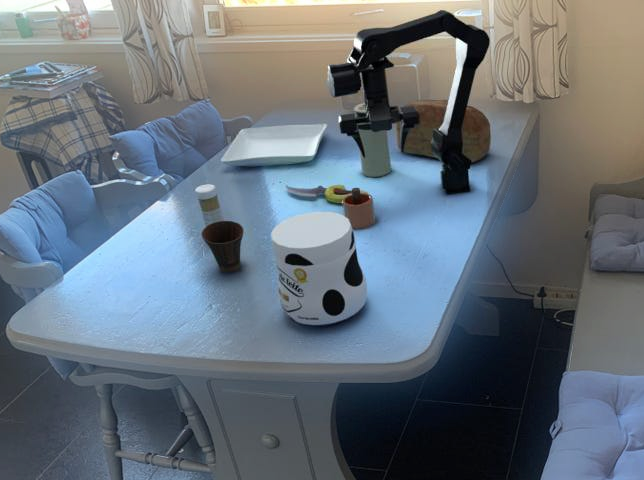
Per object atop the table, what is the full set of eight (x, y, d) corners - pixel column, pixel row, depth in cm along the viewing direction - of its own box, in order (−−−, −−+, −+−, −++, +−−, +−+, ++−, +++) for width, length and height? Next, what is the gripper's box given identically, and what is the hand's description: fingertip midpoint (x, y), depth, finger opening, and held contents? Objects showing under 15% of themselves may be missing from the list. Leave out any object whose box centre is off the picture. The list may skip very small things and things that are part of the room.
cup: (233, 283, 164) (221, 242, 158) (204, 274, 168) (191, 234, 162) (261, 265, 170) (251, 224, 164) (232, 256, 174) (221, 217, 168)
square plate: (317, 167, 215) (314, 154, 212) (222, 173, 216) (218, 160, 214) (329, 133, 236) (327, 121, 234) (243, 139, 238) (240, 127, 235)
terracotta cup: (373, 213, 188) (370, 191, 184) (376, 226, 182) (373, 203, 178) (344, 217, 187) (341, 195, 183) (346, 230, 181) (343, 207, 177)
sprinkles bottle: (226, 234, 184) (212, 182, 176) (231, 241, 181) (216, 188, 173) (207, 239, 183) (193, 186, 175) (211, 246, 179) (196, 193, 171)
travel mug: (396, 172, 208) (389, 106, 197) (371, 180, 205) (362, 113, 194) (382, 163, 213) (373, 99, 203) (357, 171, 210) (347, 106, 199)
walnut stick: (364, 217, 185) (359, 186, 180) (364, 221, 183) (360, 190, 178) (355, 218, 185) (351, 188, 180) (356, 222, 183) (351, 191, 178)
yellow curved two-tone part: (275, 199, 199) (360, 207, 191) (273, 189, 197) (359, 198, 189) (290, 186, 205) (373, 194, 197) (288, 177, 203) (372, 185, 195)
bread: (414, 140, 227) (409, 91, 218) (497, 152, 214) (495, 101, 206) (391, 154, 219) (385, 104, 210) (476, 168, 206) (473, 115, 198)
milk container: (267, 327, 149) (246, 245, 139) (310, 283, 162) (294, 205, 151) (345, 340, 144) (330, 256, 133) (383, 293, 156) (372, 213, 146)
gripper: (336, 105, 167) (347, 172, 176) (420, 94, 169) (426, 161, 178) (334, 90, 176) (344, 155, 185) (413, 80, 178) (419, 145, 187)
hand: (383, 154), depth 184 cm, fingers open, 9 cm apart
